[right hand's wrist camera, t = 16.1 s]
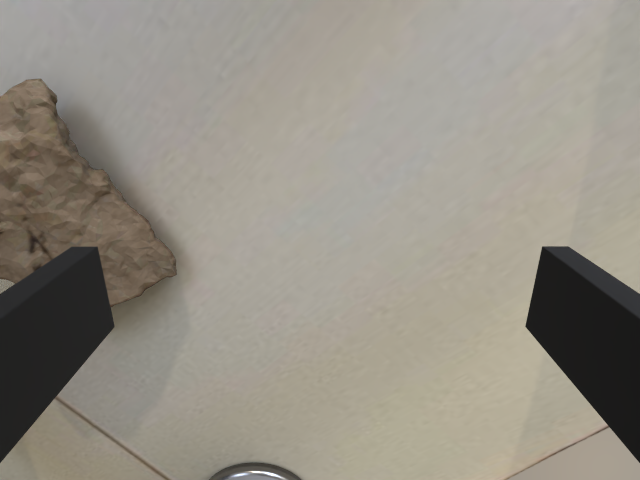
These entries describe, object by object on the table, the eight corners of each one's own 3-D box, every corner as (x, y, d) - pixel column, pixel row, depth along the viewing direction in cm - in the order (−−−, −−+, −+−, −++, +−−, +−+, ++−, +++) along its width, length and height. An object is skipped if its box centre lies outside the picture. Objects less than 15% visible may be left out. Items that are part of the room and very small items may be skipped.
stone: (-103, 157, 36) (-155, 174, 31) (46, 72, 36) (21, 73, 31) (72, 319, 46) (56, 353, 40) (187, 250, 46) (187, 274, 41)
